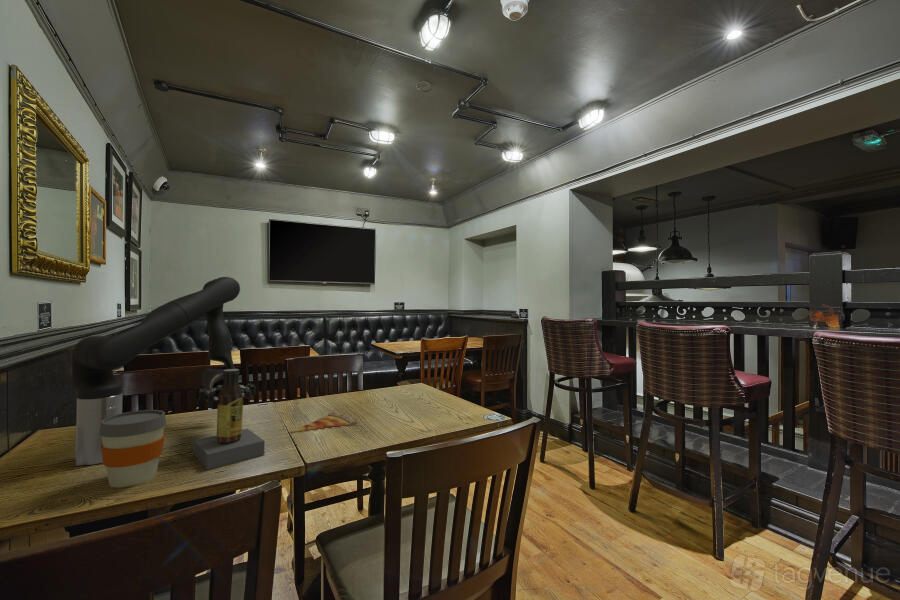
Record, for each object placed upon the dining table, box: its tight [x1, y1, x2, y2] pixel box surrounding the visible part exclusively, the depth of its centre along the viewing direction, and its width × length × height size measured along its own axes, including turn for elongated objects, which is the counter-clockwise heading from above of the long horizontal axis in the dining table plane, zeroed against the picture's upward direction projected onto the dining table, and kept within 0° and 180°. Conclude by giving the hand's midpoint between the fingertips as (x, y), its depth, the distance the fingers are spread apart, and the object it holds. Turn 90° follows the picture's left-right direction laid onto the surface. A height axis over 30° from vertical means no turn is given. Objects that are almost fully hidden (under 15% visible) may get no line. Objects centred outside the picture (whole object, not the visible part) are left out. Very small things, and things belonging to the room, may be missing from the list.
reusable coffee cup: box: [99, 409, 167, 488], centre depth 94 cm, size 13×13×15 cm
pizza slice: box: [289, 411, 358, 434], centre depth 138 cm, size 16×22×2 cm
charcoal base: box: [193, 428, 265, 471], centre depth 109 cm, size 14×14×4 cm
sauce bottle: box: [216, 368, 244, 443], centre depth 109 cm, size 7×6×20 cm
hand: (230, 397), depth 107 cm, fingers open, 8 cm apart
